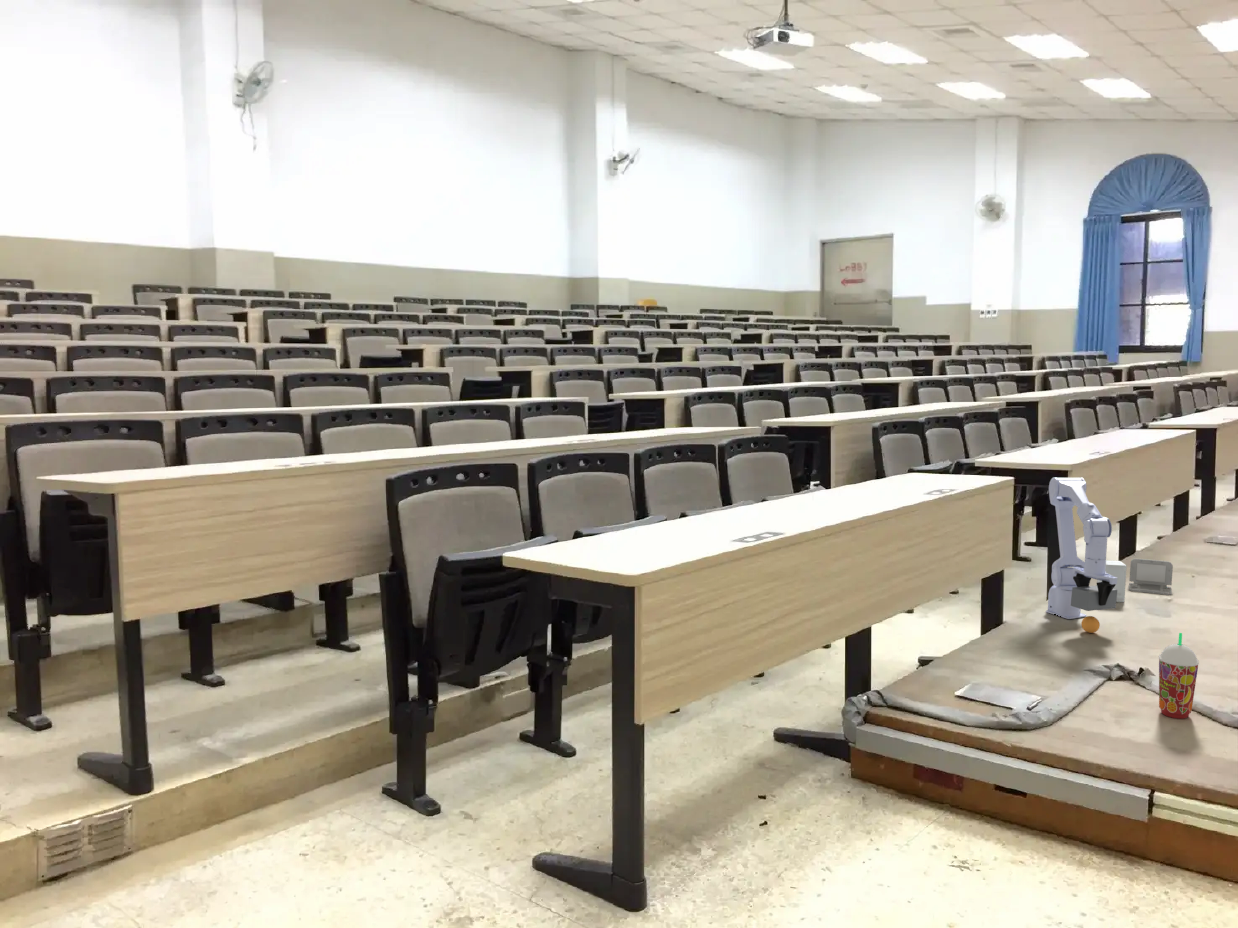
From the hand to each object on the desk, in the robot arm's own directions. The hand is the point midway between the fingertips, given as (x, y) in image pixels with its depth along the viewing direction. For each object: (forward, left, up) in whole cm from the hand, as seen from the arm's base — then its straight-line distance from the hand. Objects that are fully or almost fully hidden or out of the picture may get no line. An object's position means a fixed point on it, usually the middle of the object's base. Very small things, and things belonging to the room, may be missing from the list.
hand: (1092, 602), depth 303 cm
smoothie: (+55, -35, -10) cm, 66 cm away
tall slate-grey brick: (0, 0, -2) cm, 2 cm away
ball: (0, 0, -7) cm, 7 cm away
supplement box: (-24, +36, -10) cm, 44 cm away
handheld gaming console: (-27, +58, -10) cm, 65 cm away
